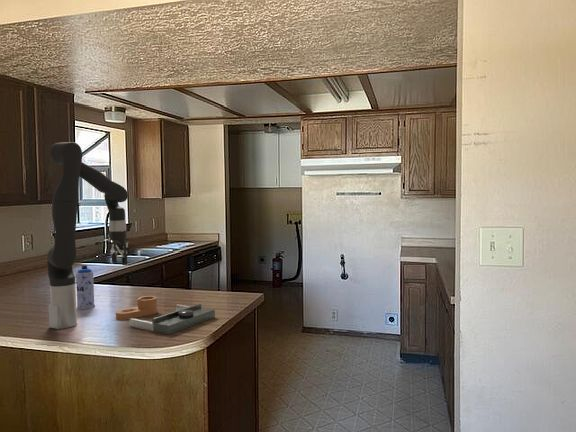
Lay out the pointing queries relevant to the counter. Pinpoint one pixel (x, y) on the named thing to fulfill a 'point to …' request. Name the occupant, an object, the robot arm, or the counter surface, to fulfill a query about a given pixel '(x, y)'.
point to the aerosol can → (85, 288)
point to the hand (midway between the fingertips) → (119, 263)
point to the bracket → (139, 308)
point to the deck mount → (176, 319)
